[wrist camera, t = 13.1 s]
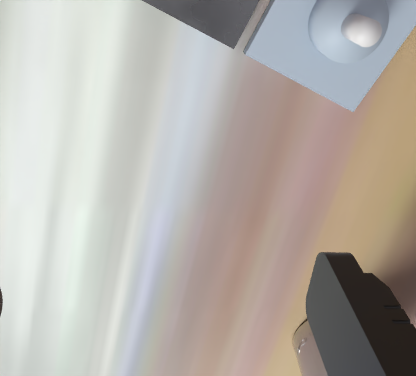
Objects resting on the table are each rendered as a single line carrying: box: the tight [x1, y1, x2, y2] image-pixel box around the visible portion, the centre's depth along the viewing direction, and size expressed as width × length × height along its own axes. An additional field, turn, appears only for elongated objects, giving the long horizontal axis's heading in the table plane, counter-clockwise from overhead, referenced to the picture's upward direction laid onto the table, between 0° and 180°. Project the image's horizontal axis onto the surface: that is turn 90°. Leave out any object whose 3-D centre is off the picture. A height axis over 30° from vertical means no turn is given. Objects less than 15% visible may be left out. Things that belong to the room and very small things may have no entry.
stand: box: [243, 0, 416, 112], centre depth 26 cm, size 10×10×6 cm
